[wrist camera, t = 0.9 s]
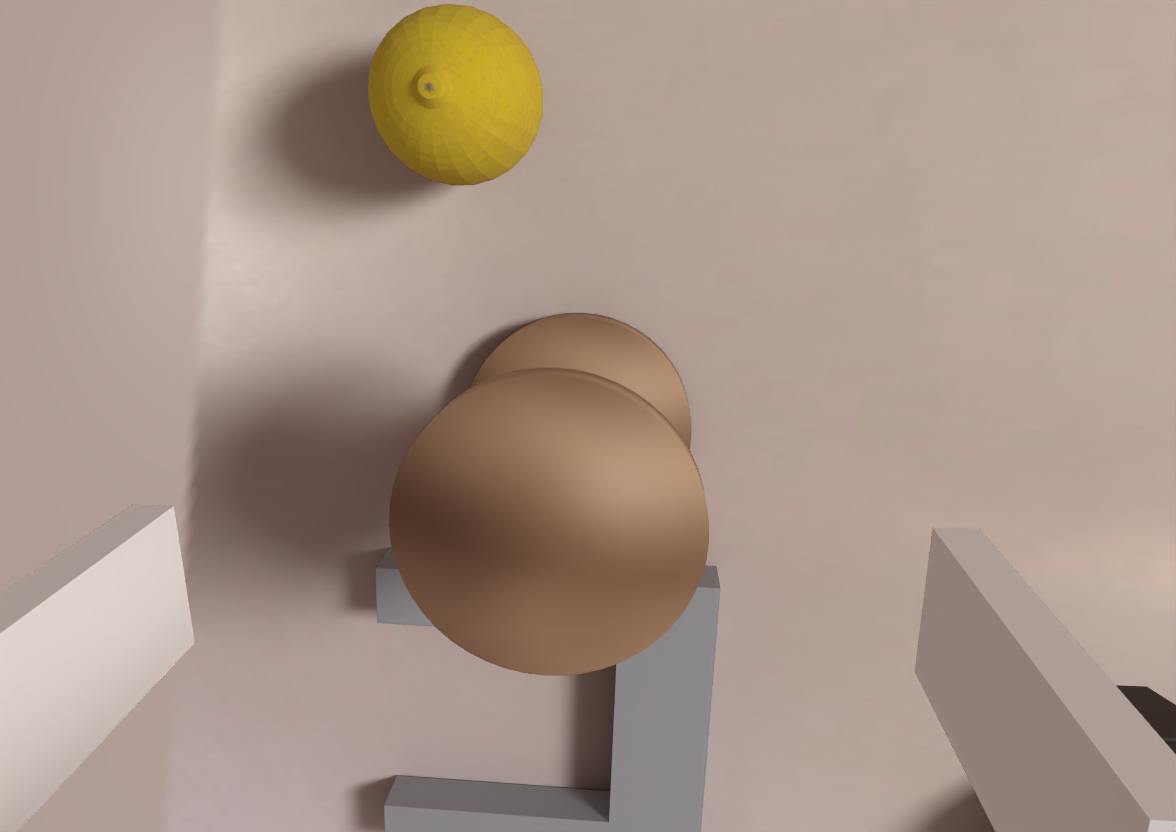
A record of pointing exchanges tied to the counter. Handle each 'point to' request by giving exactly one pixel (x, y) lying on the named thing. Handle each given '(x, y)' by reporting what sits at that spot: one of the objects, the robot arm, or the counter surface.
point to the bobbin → (556, 501)
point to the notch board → (639, 755)
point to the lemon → (455, 94)
